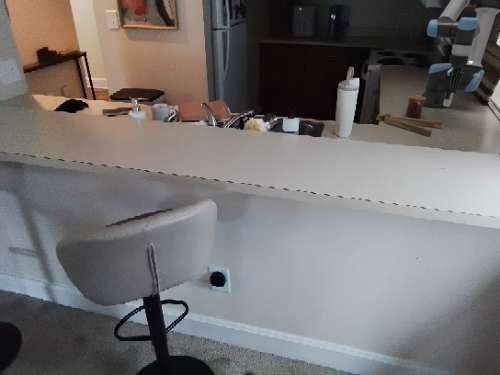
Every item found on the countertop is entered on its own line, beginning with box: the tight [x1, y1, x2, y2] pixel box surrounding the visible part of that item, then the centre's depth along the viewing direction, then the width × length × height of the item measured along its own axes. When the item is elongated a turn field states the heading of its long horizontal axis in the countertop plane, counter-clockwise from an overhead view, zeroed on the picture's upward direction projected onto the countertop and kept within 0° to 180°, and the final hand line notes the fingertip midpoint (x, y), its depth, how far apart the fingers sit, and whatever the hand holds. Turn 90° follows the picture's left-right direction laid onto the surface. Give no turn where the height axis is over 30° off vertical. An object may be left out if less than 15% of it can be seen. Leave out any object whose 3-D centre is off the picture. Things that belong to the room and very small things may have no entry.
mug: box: [405, 94, 426, 119], centre depth 197 cm, size 12×9×10 cm
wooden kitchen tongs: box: [375, 113, 433, 137], centre depth 184 cm, size 5×29×3 cm, turn 36°
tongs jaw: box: [391, 115, 443, 129], centre depth 188 cm, size 3×23×3 cm, turn 68°
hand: (446, 105), depth 185 cm, fingers closed
